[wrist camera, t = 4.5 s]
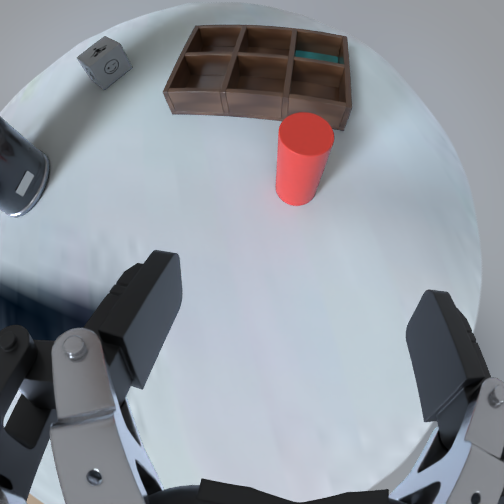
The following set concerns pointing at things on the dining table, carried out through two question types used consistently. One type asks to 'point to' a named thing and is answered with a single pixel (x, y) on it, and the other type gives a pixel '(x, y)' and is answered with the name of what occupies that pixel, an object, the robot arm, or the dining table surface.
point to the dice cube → (105, 62)
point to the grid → (262, 74)
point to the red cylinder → (302, 156)
